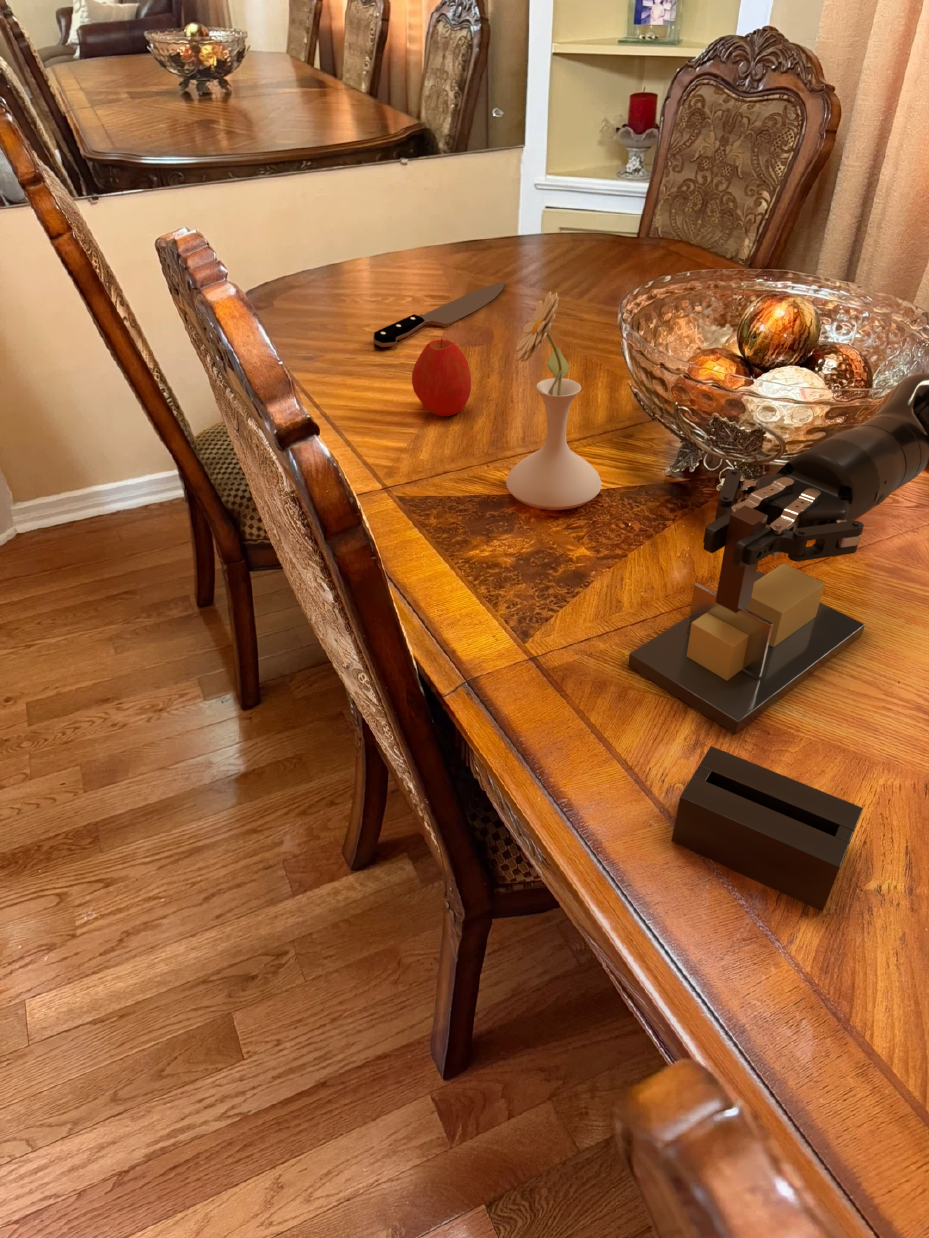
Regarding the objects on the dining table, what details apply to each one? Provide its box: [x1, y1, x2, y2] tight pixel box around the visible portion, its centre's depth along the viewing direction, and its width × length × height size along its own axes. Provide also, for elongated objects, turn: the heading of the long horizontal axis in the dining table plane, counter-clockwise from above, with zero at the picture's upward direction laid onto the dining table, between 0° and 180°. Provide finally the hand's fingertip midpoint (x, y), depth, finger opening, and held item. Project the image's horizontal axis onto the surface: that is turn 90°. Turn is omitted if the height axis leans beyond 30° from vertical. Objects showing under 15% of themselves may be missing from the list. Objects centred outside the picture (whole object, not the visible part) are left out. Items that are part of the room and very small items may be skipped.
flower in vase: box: [505, 290, 603, 511], centre depth 99 cm, size 13×11×25 cm
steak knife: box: [372, 281, 506, 350], centre depth 158 cm, size 5×41×2 cm, turn 147°
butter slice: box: [687, 612, 749, 680], centre depth 79 cm, size 2×4×4 cm, turn 40°
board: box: [627, 570, 866, 735], centre depth 83 cm, size 20×12×2 cm, turn 130°
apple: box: [411, 338, 472, 417], centre depth 124 cm, size 8×8×11 cm
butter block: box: [745, 562, 826, 647], centre depth 84 cm, size 7×4×4 cm, turn 131°
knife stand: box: [670, 745, 864, 913], centre depth 64 cm, size 6×11×5 cm, turn 56°
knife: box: [687, 505, 773, 677], centre depth 76 cm, size 2×8×15 cm, turn 41°
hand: (723, 548), depth 71 cm, fingers closed on knife, 2 cm apart
